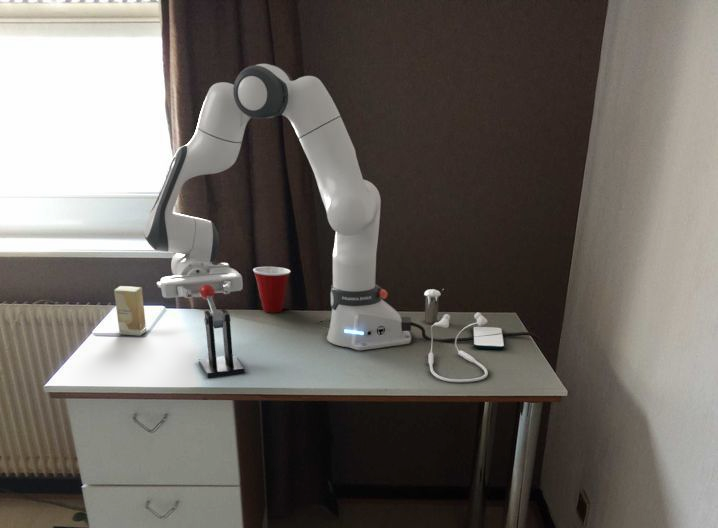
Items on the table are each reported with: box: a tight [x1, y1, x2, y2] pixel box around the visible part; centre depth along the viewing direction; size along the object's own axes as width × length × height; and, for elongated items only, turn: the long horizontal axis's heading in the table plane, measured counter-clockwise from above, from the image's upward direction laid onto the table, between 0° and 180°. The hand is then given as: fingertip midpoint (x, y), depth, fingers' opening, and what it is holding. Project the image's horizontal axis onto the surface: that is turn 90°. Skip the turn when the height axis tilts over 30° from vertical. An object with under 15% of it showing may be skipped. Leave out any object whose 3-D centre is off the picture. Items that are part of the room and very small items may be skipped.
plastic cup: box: [252, 266, 291, 313], centre depth 221 cm, size 11×11×12 cm
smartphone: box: [472, 326, 505, 350], centre depth 202 cm, size 8×1×16 cm
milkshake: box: [423, 287, 445, 325], centre depth 212 cm, size 5×5×10 cm
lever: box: [200, 284, 224, 329], centre depth 180 cm, size 13×4×4 cm, turn 21°
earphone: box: [427, 311, 489, 384], centre depth 182 cm, size 14×17×18 cm
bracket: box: [198, 308, 246, 379], centre depth 180 cm, size 10×9×14 cm
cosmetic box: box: [113, 285, 147, 337], centre depth 203 cm, size 6×4×12 cm
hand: (207, 292), depth 182 cm, fingers open, 8 cm apart
